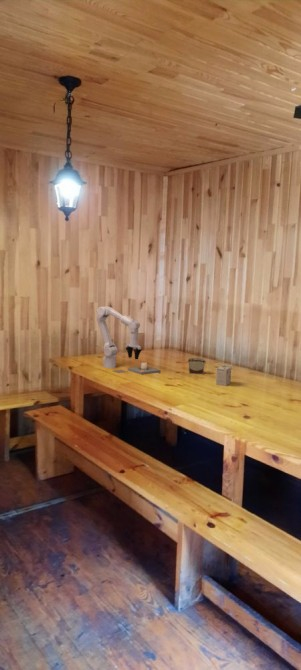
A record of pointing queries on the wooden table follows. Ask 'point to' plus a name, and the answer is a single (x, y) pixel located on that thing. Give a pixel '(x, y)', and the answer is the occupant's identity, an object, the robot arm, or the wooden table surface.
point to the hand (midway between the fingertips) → (133, 358)
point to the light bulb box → (223, 375)
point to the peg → (143, 365)
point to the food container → (196, 365)
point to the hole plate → (148, 371)
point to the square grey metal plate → (120, 371)
